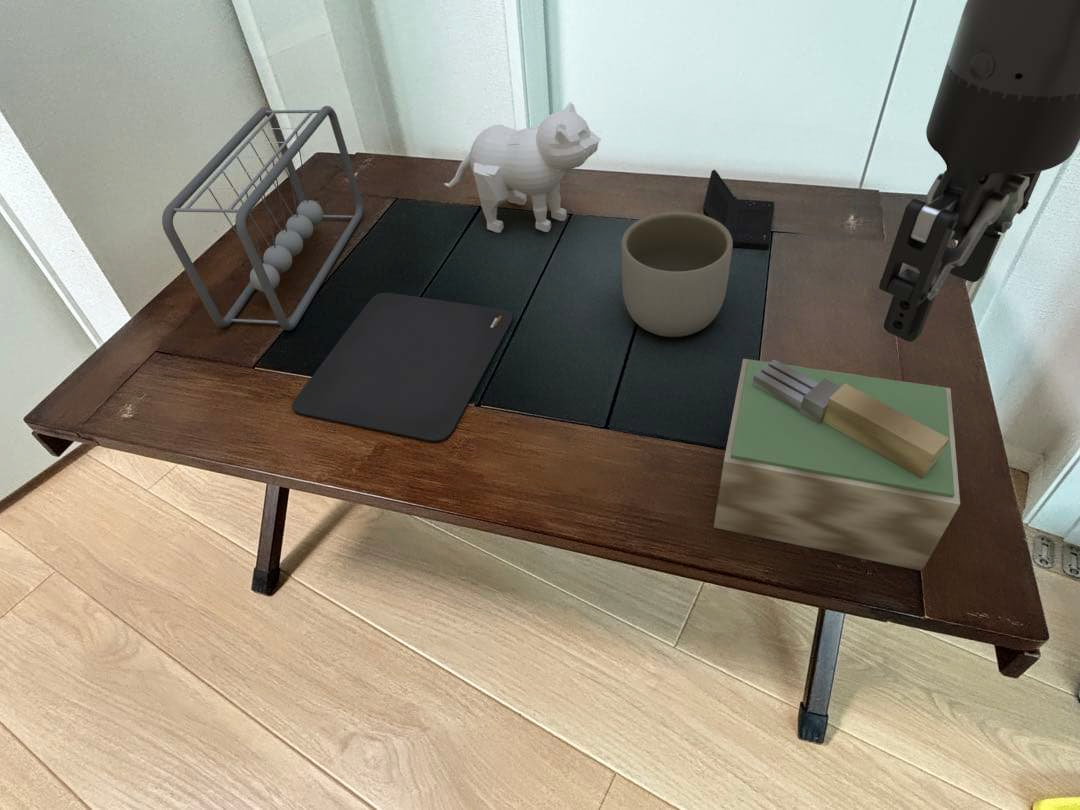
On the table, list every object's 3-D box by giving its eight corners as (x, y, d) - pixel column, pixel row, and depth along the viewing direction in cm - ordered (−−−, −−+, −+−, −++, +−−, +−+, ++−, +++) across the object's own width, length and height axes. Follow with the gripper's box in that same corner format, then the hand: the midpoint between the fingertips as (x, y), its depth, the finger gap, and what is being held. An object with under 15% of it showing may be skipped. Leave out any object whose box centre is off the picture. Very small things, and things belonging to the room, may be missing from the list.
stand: (917, 459, 71) (950, 388, 64) (922, 571, 63) (960, 504, 55) (732, 427, 76) (743, 358, 69) (713, 527, 67) (723, 461, 60)
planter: (720, 353, 84) (730, 277, 76) (614, 344, 86) (613, 269, 78) (725, 288, 92) (735, 213, 84) (629, 281, 94) (629, 208, 87)
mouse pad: (446, 445, 77) (445, 443, 77) (286, 411, 83) (286, 410, 83) (517, 312, 92) (516, 311, 92) (377, 292, 97) (376, 290, 97)
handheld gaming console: (786, 238, 95) (745, 181, 91) (739, 268, 99) (697, 214, 95) (776, 203, 104) (738, 149, 100) (733, 232, 108) (694, 181, 104)
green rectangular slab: (944, 391, 63) (946, 387, 63) (953, 498, 56) (954, 494, 56) (747, 362, 68) (748, 359, 68) (730, 457, 60) (731, 454, 60)
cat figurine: (434, 229, 108) (410, 121, 95) (462, 192, 114) (442, 87, 102) (595, 248, 100) (590, 134, 88) (614, 208, 107) (612, 97, 95)
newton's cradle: (291, 338, 93) (237, 218, 80) (217, 334, 94) (153, 216, 82) (366, 212, 113) (333, 99, 100) (305, 211, 115) (265, 100, 102)
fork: (940, 459, 58) (952, 435, 56) (920, 482, 57) (931, 458, 54) (772, 367, 67) (777, 343, 65) (751, 385, 65) (755, 361, 63)
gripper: (1043, 130, 32) (933, 383, 44) (1162, 31, 38) (1037, 278, 50) (888, 88, 37) (825, 330, 48) (1017, 5, 43) (933, 239, 54)
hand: (933, 303), depth 49 cm, fingers open, 8 cm apart
